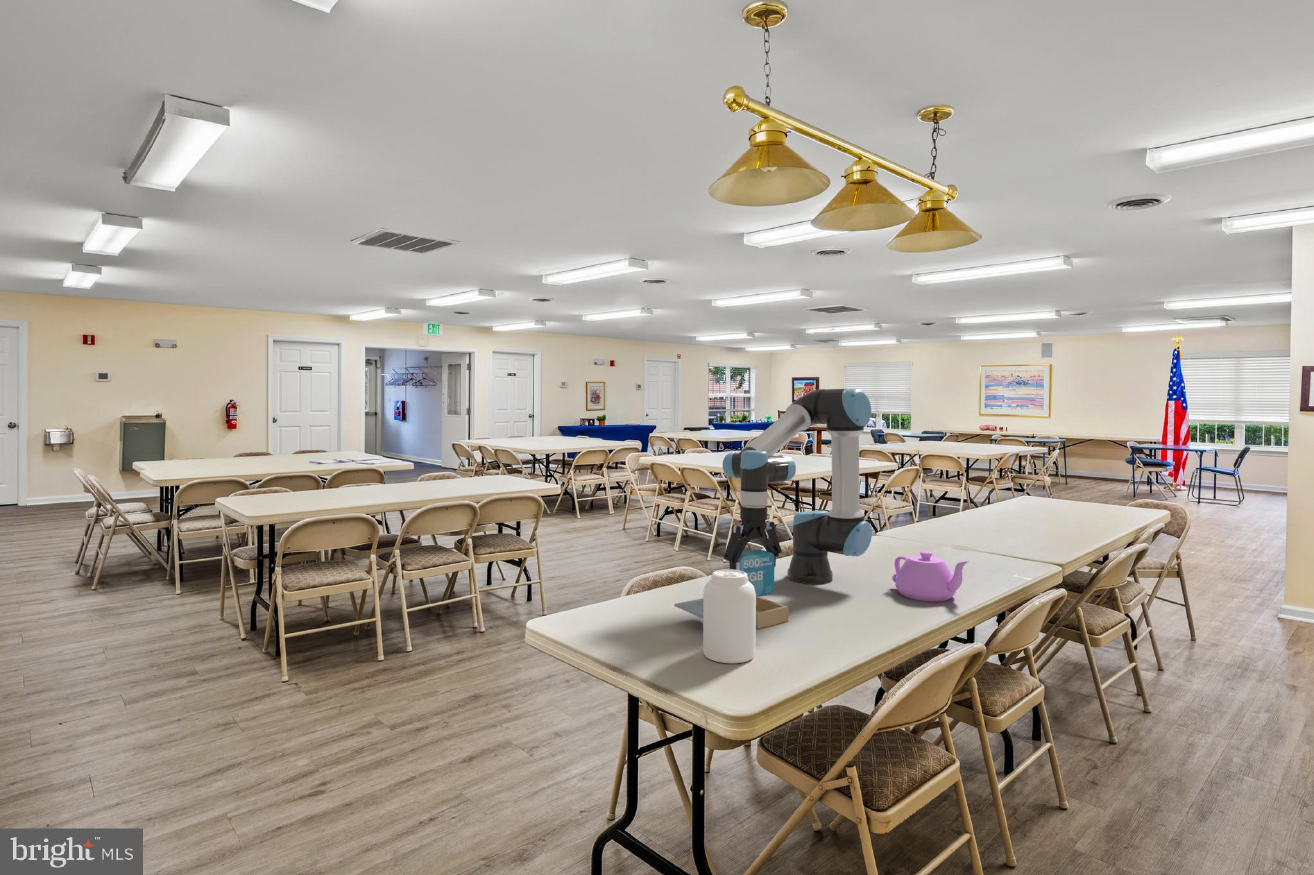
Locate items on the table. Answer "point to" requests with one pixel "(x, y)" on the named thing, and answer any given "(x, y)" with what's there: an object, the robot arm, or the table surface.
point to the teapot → (927, 578)
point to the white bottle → (729, 617)
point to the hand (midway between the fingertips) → (752, 582)
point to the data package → (759, 570)
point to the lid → (692, 607)
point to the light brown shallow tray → (770, 613)
